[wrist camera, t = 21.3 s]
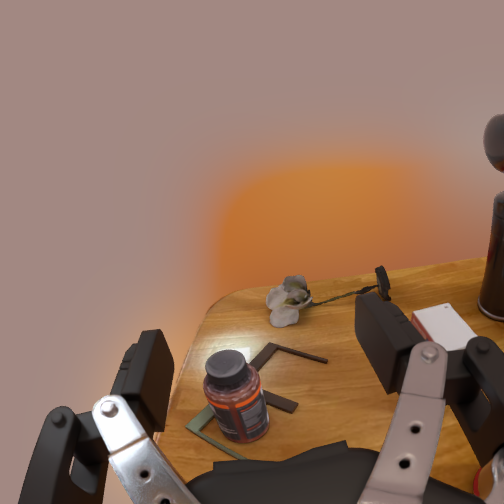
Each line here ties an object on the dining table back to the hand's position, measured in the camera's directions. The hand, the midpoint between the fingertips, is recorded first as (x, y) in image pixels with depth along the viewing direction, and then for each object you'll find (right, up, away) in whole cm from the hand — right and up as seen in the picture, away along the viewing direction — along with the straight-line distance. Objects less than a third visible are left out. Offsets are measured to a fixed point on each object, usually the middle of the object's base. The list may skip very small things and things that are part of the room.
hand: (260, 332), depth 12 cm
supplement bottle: (-1, -18, +20) cm, 27 cm away
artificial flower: (+13, -7, +39) cm, 42 cm away
